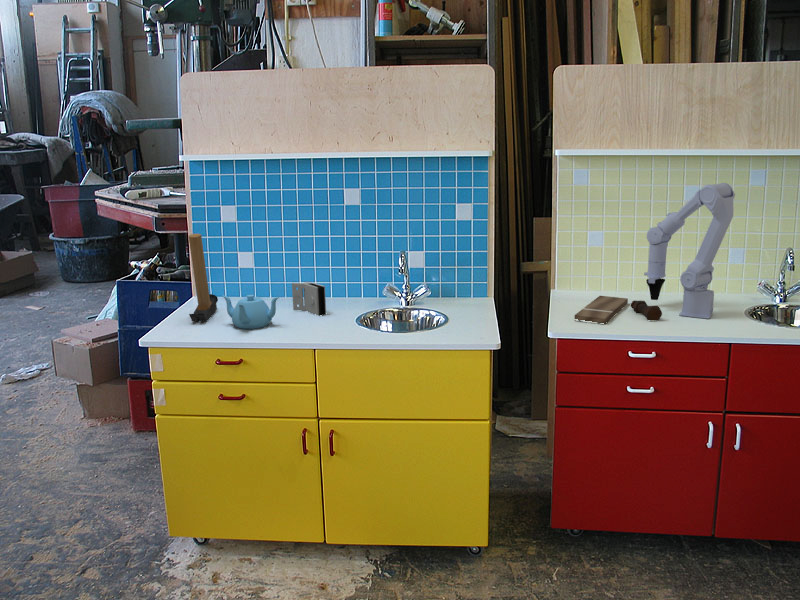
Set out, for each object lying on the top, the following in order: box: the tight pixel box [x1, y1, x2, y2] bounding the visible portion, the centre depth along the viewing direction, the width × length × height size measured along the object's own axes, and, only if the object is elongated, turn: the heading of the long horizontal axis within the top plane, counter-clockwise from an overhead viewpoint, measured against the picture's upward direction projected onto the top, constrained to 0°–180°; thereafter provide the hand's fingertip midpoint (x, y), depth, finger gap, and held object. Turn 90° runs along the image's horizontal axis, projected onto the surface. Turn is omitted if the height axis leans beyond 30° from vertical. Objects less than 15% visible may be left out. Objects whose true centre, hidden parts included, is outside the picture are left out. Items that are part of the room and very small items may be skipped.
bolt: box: [630, 300, 663, 321], centre depth 252 cm, size 6×5×15 cm
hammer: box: [188, 233, 219, 322], centre depth 256 cm, size 20×5×30 cm, turn 0°
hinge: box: [291, 281, 327, 316], centre depth 264 cm, size 14×5×10 cm, turn 51°
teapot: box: [221, 294, 280, 330], centre depth 248 cm, size 15×15×10 cm
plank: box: [574, 295, 629, 325], centre depth 257 cm, size 10×30×2 cm, turn 150°
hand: (654, 299), depth 263 cm, fingers closed
